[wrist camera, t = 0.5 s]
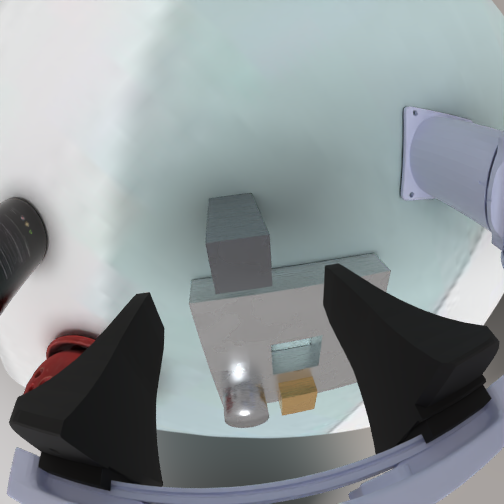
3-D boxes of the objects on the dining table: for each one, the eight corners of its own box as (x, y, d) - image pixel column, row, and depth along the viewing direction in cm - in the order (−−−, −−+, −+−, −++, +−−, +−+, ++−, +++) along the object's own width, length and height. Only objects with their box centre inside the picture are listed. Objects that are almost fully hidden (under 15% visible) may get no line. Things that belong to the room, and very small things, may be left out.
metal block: (251, 192, 19) (269, 234, 13) (254, 231, 20) (272, 286, 14) (208, 198, 19) (205, 243, 13) (215, 236, 20) (215, 294, 14)
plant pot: (100, 398, 29) (86, 471, 19) (32, 337, 23) (-3, 415, 13) (172, 383, 28) (168, 476, 18) (96, 306, 22) (54, 416, 12)
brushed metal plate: (374, 252, 23) (409, 291, 18) (350, 363, 31) (367, 400, 25) (191, 280, 22) (186, 332, 16) (222, 387, 29) (226, 430, 24)
